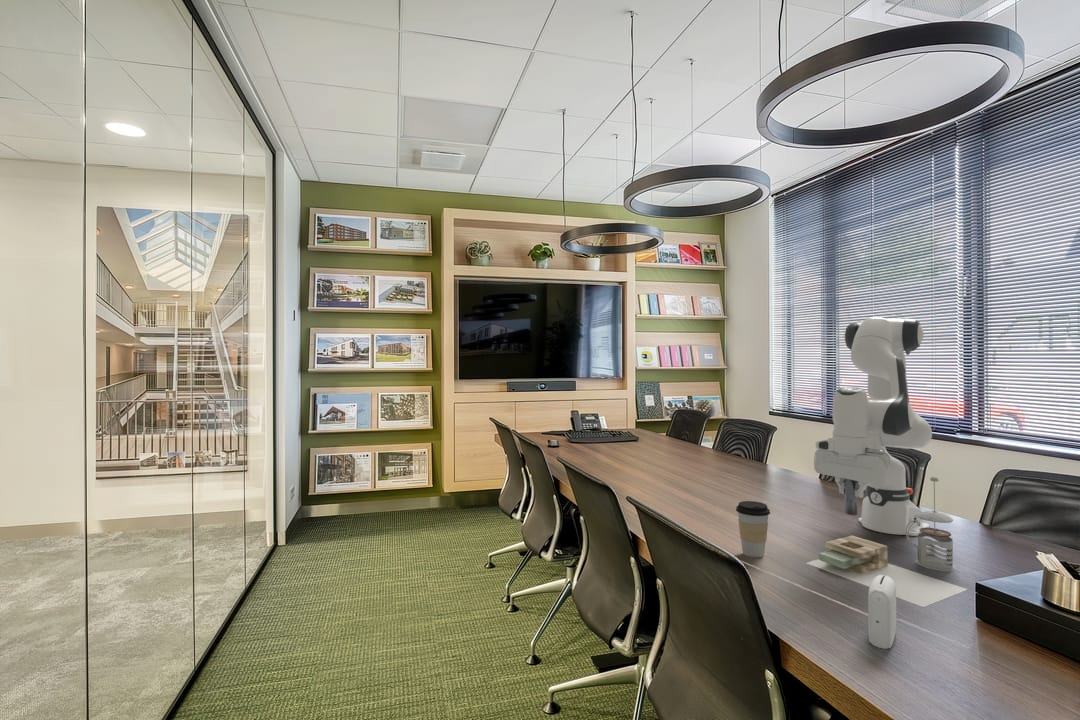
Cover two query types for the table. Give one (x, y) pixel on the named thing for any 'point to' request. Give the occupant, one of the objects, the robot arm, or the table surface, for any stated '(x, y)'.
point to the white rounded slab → (882, 611)
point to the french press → (942, 539)
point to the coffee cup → (753, 527)
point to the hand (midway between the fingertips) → (851, 495)
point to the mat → (900, 582)
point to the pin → (850, 497)
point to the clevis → (855, 554)
